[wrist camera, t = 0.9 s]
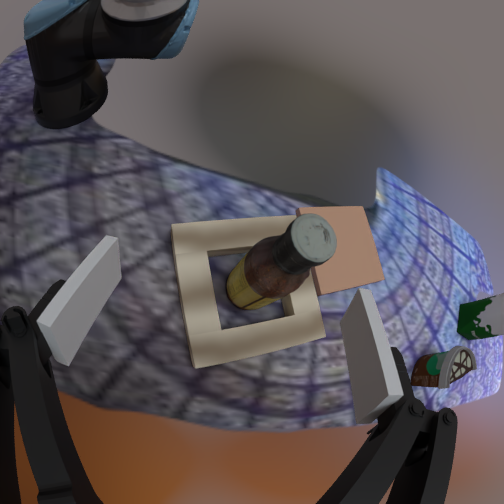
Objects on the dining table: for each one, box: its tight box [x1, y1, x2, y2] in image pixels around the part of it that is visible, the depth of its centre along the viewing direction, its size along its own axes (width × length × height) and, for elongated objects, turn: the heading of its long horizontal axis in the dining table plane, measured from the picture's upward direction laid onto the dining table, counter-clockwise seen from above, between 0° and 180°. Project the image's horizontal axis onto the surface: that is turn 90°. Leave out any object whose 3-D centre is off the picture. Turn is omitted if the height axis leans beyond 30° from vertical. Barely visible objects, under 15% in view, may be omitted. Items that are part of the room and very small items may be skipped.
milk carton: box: [457, 293, 504, 340], centre depth 44 cm, size 9×9×20 cm
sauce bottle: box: [227, 213, 337, 310], centre depth 30 cm, size 7×6×20 cm
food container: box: [411, 346, 477, 389], centre depth 41 cm, size 12×6×10 cm, turn 95°
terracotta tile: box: [296, 206, 384, 296], centre depth 46 cm, size 14×14×1 cm
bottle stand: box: [171, 215, 326, 368], centre depth 37 cm, size 18×18×3 cm
